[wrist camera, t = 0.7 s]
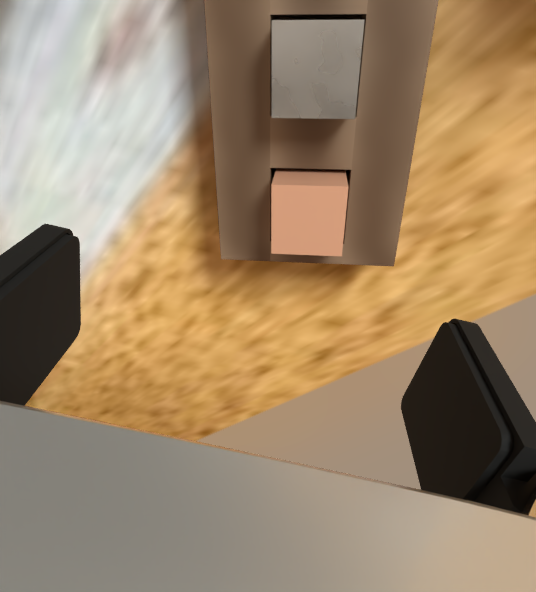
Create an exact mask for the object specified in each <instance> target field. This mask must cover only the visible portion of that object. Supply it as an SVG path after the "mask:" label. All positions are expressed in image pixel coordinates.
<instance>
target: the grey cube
mask: <svg viewBox="0 0 536 592" xmlns="http://www.w3.org/2000/svg"><path fill="white" fill-rule="evenodd" d="M363 31H364V20H272V118H312V119H355V114H356V104H357V93H358V83H359V72H360V62H361V51H362V41H363Z"/></svg>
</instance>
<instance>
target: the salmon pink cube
mask: <svg viewBox="0 0 536 592" xmlns="http://www.w3.org/2000/svg"><path fill="white" fill-rule="evenodd" d="M347 197H348V182H347V177H346V172H345V169H303V168H276V171H275V175H274V178H273V181H272V184H271V254H294V255H319V256H342V249H343V239H344V229H345V218H346V208H347Z"/></svg>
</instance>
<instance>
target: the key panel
mask: <svg viewBox="0 0 536 592" xmlns="http://www.w3.org/2000/svg"><path fill="white" fill-rule="evenodd" d="M437 6H438V0H204V7H205V22H206V38H207V53H208V68H209V83H210V98H211V113H212V128H213V144H214V159H215V174H216V189H217V204H218V219H219V234H220V250H221V259H231V260H255V261H279V262H303V263H327V264H351V265H375V266H394V262H395V256H396V250H397V244H398V238H399V232H400V226H401V220H402V214H403V208H404V202H405V196H406V190H407V185H408V179H409V173H410V167H411V161H412V155H413V149H414V143H415V137H416V131H417V125H418V119H419V113H420V107H421V101H422V95H423V89H424V83H425V77H426V71H427V65H428V59H429V53H430V47H431V41H432V35H433V30H434V24H435V18H436V12H437ZM272 20H364V31H363V41H362V51H361V62H360V72H359V83H358V93H357V104H356V114H355V119H312V118H272ZM276 168H303V169H345V172H346V177H347V182H348V197H347V208H346V218H345V229H344V239H343V249H342V256H319V255H294V254H271V184H272V181H273V178H274V175H275V171H276Z"/></svg>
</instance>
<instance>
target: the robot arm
mask: <svg viewBox="0 0 536 592" xmlns="http://www.w3.org/2000/svg"><path fill="white" fill-rule="evenodd" d="M80 325H81V313H80V244H79V239H78V237H75V236H73V233H72V231H71V230H70V229H67V228H62V227H58V226H54V225H49V224H44V225H42V226H41V227H39V228H38V229H37V230H35V231H34V232H32V233H31V234H30V235H28V236H27V237H25V238H24V239H23V240H21V241H20V242H18V243H17V244H16V245H14V246H13V247H11V248H10V249H9V250H7V251H6V252H4V253H3V254H2V255H0V592H536V422H535V420H534V419H533V417H532V415H531V414H530V412H529V410H528V408H527V407H526V405H525V403H524V402H523V400H522V399H521V397H520V395H519V393H518V392H517V390H516V388H515V386H514V385H513V383H512V381H511V380H510V378H509V376H508V375H507V373H506V371H505V369H504V368H503V366H502V365H501V363H500V361H499V359H498V358H497V356H496V354H495V353H494V351H493V349H492V348H491V346H490V344H489V342H488V341H487V339H486V337H485V336H484V334H483V333H482V330H481V329H480V327H479V326H478V325H477V324H475V323H471V322H467V321H462V320H458V319H452V320H451V321H450V322H449V323H446V322H445V323H443V324H442V325H441V327H440V328H439V330H438V332H437V334H436V336H435V338H434V339H433V341H432V343H431V345H430V347H429V349H428V351H427V353H426V354H425V356H424V358H423V360H422V362H421V364H420V366H419V368H418V370H417V371H416V373H415V375H414V377H413V379H412V381H411V383H410V385H409V386H408V388H407V390H406V392H405V394H404V396H403V398H402V403H401V410H402V414H403V418H404V422H405V426H406V430H407V434H408V438H409V442H410V446H411V450H412V454H413V458H414V462H415V466H416V470H417V474H418V478H419V482H420V486H421V490H419V489H414V488H410V487H405V486H401V485H396V484H392V483H387V482H382V481H378V480H373V479H368V478H364V477H359V476H355V475H350V474H346V473H341V472H337V471H332V470H327V469H323V468H318V467H313V466H309V465H304V464H300V463H295V462H291V461H286V460H281V459H276V458H272V457H267V456H262V455H258V454H253V453H248V452H244V451H239V450H234V449H230V448H225V447H220V446H215V445H210V444H206V443H201V442H197V441H192V440H187V439H182V438H178V437H173V436H168V435H163V434H158V433H154V432H149V431H144V430H139V429H134V428H129V427H125V426H120V425H115V424H110V423H105V422H101V421H96V420H91V419H86V418H81V417H76V416H72V415H67V414H62V413H57V412H52V411H47V410H42V409H38V408H33V407H28V406H25V404H26V403H27V402H28V400H29V399H30V398H31V396H32V395H33V394H34V393H35V391H36V390H37V389H38V387H39V386H40V385H41V383H42V382H43V381H44V379H45V378H46V377H47V376H48V374H49V373H50V372H51V370H52V369H53V368H54V366H55V365H56V364H57V363H58V361H59V360H60V359H61V357H62V356H63V355H64V353H65V352H66V351H67V349H68V348H69V347H70V346H71V344H72V343H73V342H74V340H75V339H76V337H77V336H78V333H79V330H80Z"/></svg>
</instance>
